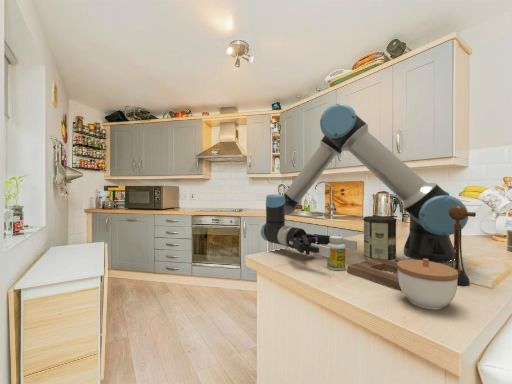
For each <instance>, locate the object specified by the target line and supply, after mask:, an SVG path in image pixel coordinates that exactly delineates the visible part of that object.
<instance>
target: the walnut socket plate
mask: <svg viewBox="0 0 512 384" xmlns="http://www.w3.org/2000/svg"><path fill="white" fill-rule="evenodd" d="M346 267H347V273H348V274H351V275H353V276H356V277H360V278H363V279H365V280H368V281H371V282H373V283H377V284H380V285H382V286H385V287H389V288H392V289H394V290H396V289H397V290H398V291H399V290H400V291H401V288H400V286H399V282H398V276H397V262H396V261H395V262H393V261H389V260H385V259H381V258H375V259H371V260H368V259H366V260H364V261H360V262H356V263H352V264H349V265H347V266H346ZM385 270H386V271H385ZM388 271H389V272H388ZM392 272H393V273H392ZM401 292H402V291H401Z"/></svg>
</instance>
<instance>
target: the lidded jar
mask: <svg viewBox="0 0 512 384" xmlns="http://www.w3.org/2000/svg"><path fill="white" fill-rule="evenodd" d="M397 276H398V282H399V286H400V288H401V290H402V291H401V292H402V293H403V295H404V296H405V297H406V298H407V299H408V301H409V302H410V303H411V304H413V305H415V306H417V307H419V308H421V309H422V308H423V309H426V310H433V311H437V310H443V308H444V307H445V306H447V305H449V304H450V303H452V302H453V301H454V298H455V296H456V294H457V291H458V286H457V278H458V271H457V270H455V267H453V268H452V267H451V266H450V265H446V264H443V263H441V262H433V261H429V259H423V260H420V259H402V260H399V261H398V262H397Z"/></svg>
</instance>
